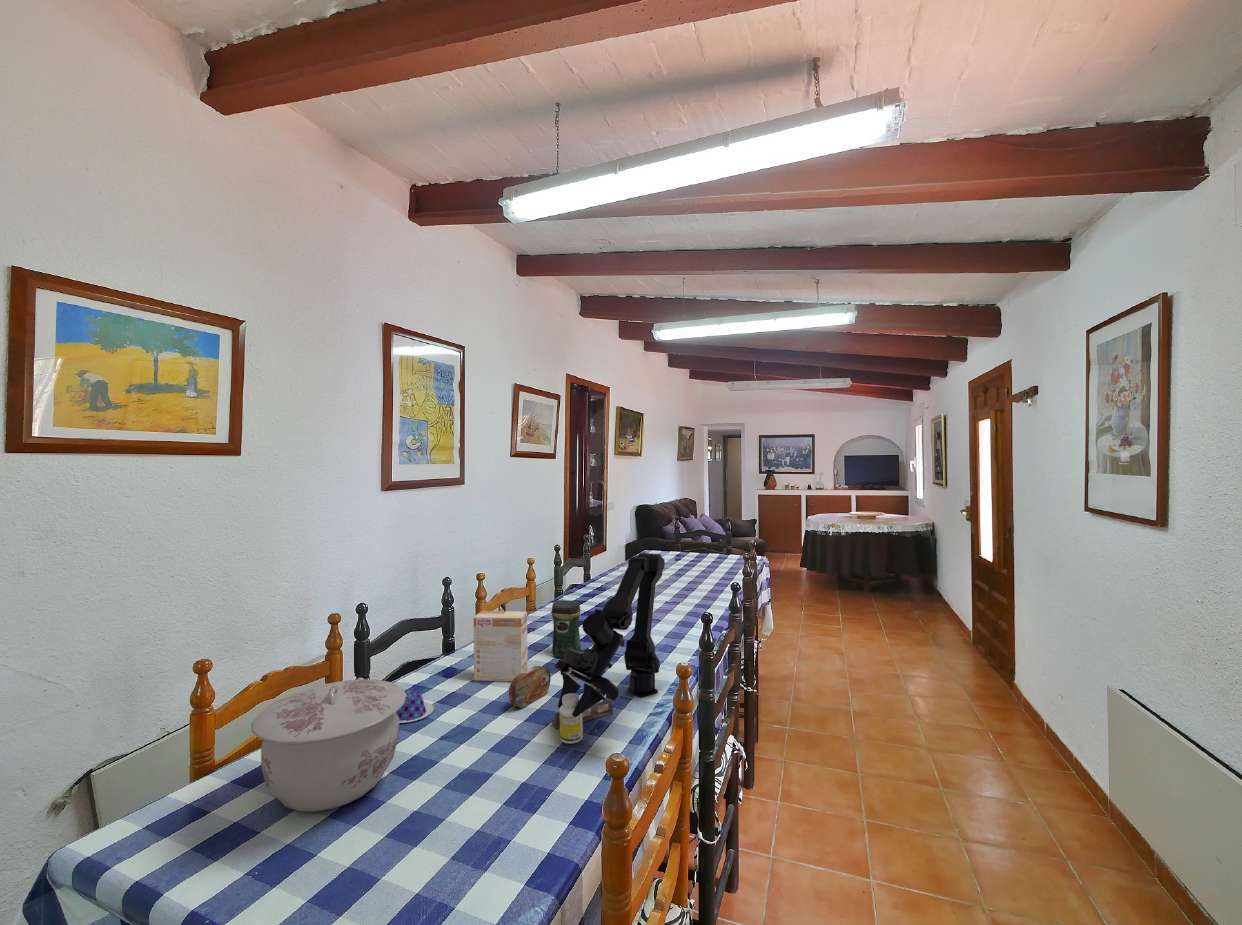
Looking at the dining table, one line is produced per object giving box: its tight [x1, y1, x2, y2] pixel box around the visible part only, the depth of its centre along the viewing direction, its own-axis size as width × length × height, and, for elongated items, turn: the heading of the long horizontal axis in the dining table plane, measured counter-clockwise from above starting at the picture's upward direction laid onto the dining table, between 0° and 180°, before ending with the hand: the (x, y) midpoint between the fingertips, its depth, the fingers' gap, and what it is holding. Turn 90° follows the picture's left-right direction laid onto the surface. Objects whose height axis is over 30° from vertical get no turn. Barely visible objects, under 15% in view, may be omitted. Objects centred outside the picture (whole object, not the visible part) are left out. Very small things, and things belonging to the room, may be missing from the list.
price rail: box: [551, 699, 614, 730], centre depth 136 cm, size 16×3×4 cm, turn 120°
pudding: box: [396, 690, 435, 724], centre depth 140 cm, size 12×12×5 cm
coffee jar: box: [551, 599, 582, 659], centre depth 182 cm, size 10×8×19 cm
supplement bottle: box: [558, 693, 584, 745], centre depth 125 cm, size 5×5×10 cm
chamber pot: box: [250, 677, 407, 813], centre depth 107 cm, size 28×28×21 cm
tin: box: [508, 665, 552, 709], centre depth 147 cm, size 15×3×8 cm, turn 149°
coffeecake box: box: [473, 610, 529, 683], centre depth 163 cm, size 15×7×20 cm, turn 84°
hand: (566, 711), depth 124 cm, fingers closed on supplement bottle, 5 cm apart
